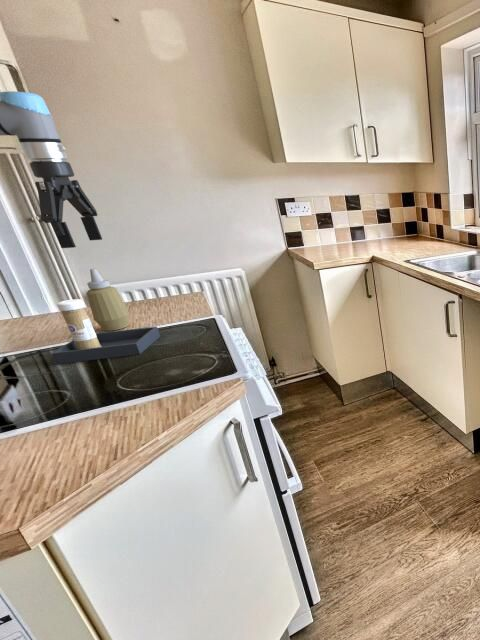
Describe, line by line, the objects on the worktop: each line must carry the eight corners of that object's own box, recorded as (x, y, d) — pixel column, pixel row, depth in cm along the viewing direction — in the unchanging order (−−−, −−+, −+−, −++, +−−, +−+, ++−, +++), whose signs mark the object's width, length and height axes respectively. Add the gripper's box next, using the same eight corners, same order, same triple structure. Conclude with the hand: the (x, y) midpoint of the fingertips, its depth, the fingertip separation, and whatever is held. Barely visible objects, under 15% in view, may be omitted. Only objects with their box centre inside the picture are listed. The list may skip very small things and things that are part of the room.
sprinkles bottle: (74, 354, 108) (51, 304, 103) (87, 347, 112) (65, 299, 107) (94, 352, 109) (72, 303, 103) (106, 346, 113) (86, 297, 108)
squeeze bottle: (125, 321, 132) (103, 265, 125) (139, 325, 129) (117, 267, 122) (93, 330, 126) (67, 271, 119) (107, 334, 122) (81, 273, 115)
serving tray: (56, 364, 104) (50, 353, 102) (85, 344, 115) (81, 334, 114) (140, 354, 109) (136, 343, 108) (160, 336, 120) (157, 326, 119)
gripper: (35, 160, 99) (74, 250, 108) (92, 161, 121) (121, 236, 129) (-6, 160, 97) (36, 252, 106) (59, 161, 119) (90, 238, 127)
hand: (83, 243), depth 118 cm, fingers open, 13 cm apart
